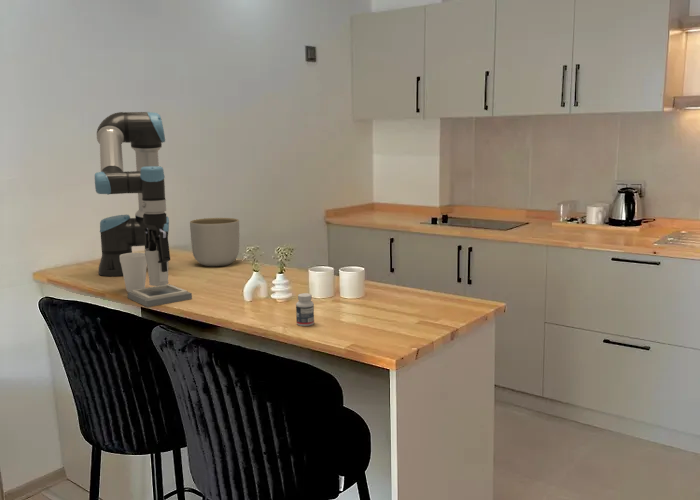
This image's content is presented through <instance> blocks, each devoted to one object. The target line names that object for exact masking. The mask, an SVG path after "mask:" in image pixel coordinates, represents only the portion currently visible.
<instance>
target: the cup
mask: <svg viewBox="0 0 700 500" xmlns="http://www.w3.org/2000/svg"><path fill="white" fill-rule="evenodd" d="M144 253H145V256H146V261H147V268H146V269H147V274H148V284H149V286H151V287H155V286H161V285H167V284H169V280H168V281H162V282H160V280H159V263H158V261H160V260H159V256H158V251H157V247H156V250H155V251H149V248H148V249H145V248H144ZM167 271H168V272H169V261H168V262H167Z"/></svg>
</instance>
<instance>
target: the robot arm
mask: <svg viewBox="0 0 700 500" xmlns="http://www.w3.org/2000/svg"><path fill="white" fill-rule="evenodd" d="M96 140H97V142H98V144H99V155H100V156H99V157H100V158H99V159H100V160H99V161H100V162H99V163H100V171H98V172H95V174H94V189H95V192H96V194H98V195H118V194H121V195H124V194H137V198H138V210H137V211H136V212H135V217H131V216H130V215H129V214H118V215H114V216H113V215H112V216H109V217H108V216H107V217H105V218H102V219H101V220H100V222H99V233H100V243H101V245H100V247H101V258H100V261H99V266H98V275H100V276H101V277H102V276H103V277H124V276H123V271H122V267H121V263H120V255H121V254H126V253H133V247H144V250H145V249H148V248H149V251H155V250H156V247H157V251H158V256H159V260H160V261H158V263H159V280H160V282H162V281H168V282H169V270H168V271H167V262H168V261H171V253H170V245H169V231H170V229H169V227H170V217H168V216H167V213H166V211H167V204H166V203H167V202H166V201H167V200H166V190H165V189H166V188H165V187H166V186H165V185H166V184H165V179H166V177H165V171H164V167H163V166H159V164H160V163H159V150H160V149H161V148H162V144H163V143H165V142H166V138H165V131H164V124H163V120H162V116H161V114H159V113H158V112H153V111H152V112H150V111H134V112H133V111H131V112H130V111H127V112H126V111H125V112H124V111H118V112H114V113H111V114H110V115H107V117H105V118H104V119H103V120H102V121H101V122H100V124H99V126H98V128H97V130H96ZM124 143H128V144H129V143H130V148H131V149H133V151H134V152H135V165H136V166H135V167H136V171H135V170H134V171H132V170H131V171H124V161H123V160H124V159H123V149H122V148H123V147H122V144H124Z"/></svg>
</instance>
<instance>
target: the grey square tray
mask: <svg viewBox="0 0 700 500" xmlns="http://www.w3.org/2000/svg"><path fill="white" fill-rule="evenodd" d="M127 299H128V300H131V301H133V302H136V303H137V304H140V305H142V306H144V307H147V308H149V307H150V308H151V307H155V306H161V305H167V304H171V303H177V302H182V301H188V300H192V299H193V294H192V292H190V291H188V290H187V289H184V288H181V287H179V286H178V287H177V286H176V285H173V284H170V283H168V284H166V285H161V286H151V287H150V286H149V287H145V288H143V289H136V290H131V292H128V291H127Z"/></svg>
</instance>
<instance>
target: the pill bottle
mask: <svg viewBox="0 0 700 500" xmlns="http://www.w3.org/2000/svg"><path fill="white" fill-rule="evenodd" d="M312 297H313V296H312V293H307V292H304V293H299V294H298V295H297V300H298V301H297V302H296V303H295V311H296V312H295V313H296V314H295V315H296V324H297V326H300V327H309V326H313V325H314V324H315V310H314V309H315V306H314V302H313V300H312V299H313V298H312Z"/></svg>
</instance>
